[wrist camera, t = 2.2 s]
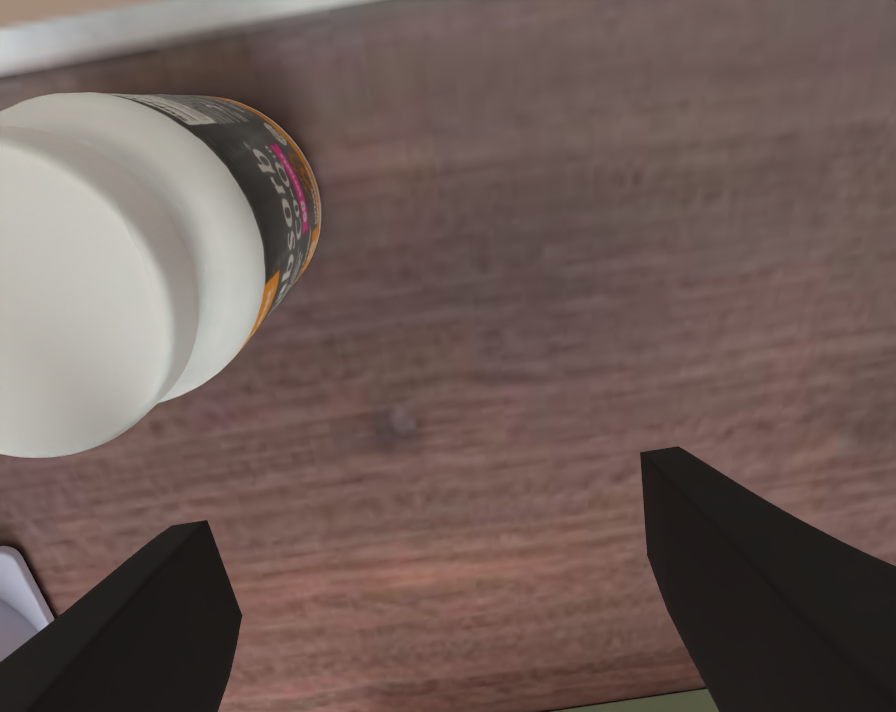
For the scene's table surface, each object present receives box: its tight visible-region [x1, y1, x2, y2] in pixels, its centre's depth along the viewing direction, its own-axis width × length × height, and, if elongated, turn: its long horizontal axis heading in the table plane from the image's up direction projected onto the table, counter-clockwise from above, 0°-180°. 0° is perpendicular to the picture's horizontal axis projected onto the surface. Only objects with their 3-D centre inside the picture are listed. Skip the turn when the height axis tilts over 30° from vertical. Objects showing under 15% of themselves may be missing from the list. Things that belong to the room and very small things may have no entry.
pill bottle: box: [0, 92, 321, 458], centre depth 14 cm, size 6×6×10 cm
